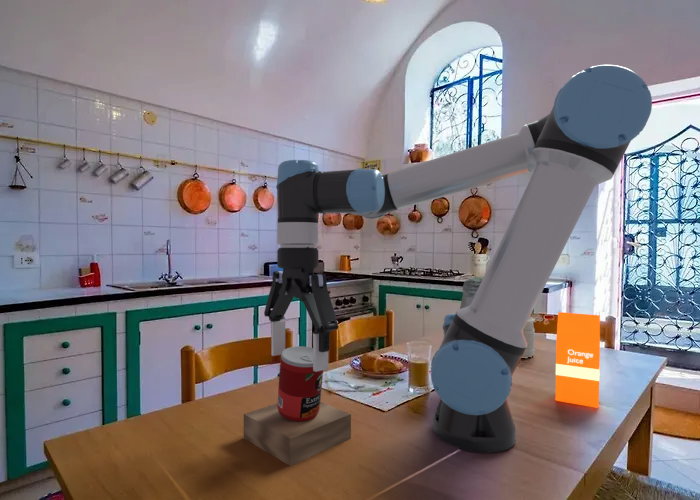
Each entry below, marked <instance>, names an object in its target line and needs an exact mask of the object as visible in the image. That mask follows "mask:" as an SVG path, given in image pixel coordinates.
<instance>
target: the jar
mask: <svg viewBox="0 0 700 500" xmlns="http://www.w3.org/2000/svg"><path fill="white" fill-rule="evenodd" d="M532 314H533V312H532V313H531V315H530V317H529V319H528V321H527V323H526V325H525V327H524V329H523V334H524V337H525V339H526V342H527V347H526V349H525V351H524V353H523V355H522V357H530V356H533V355H535V332H536V329H535V328H534V323H535V321H536V319H535V318H534V317H533V316H532ZM533 357H534V356H533Z"/></svg>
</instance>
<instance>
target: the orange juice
mask: <svg viewBox="0 0 700 500" xmlns="http://www.w3.org/2000/svg"><path fill="white" fill-rule="evenodd" d="M600 320H601V315H599V314H590V313H589V314H588V313H587V314H586V313H575V312H574V313H573V312H561V311H558V313H557V324H556V325H557V326H556V338H555V339H556V342H555V344H556V347H555V352H556V353H555V397H554V398H555V401H556V402H561V403H567V404H574V405H580V406H583V407H584V406H585V407H592V408H596V409H598V408H600V404H599V403H600V377H601V376H600V369H601V367H600V363H601V362H600V360H601V359H600V358H601V354H600V353H601V349H600V348H601V339H600V338H601V335H600V334H601V327H600V326H601V321H600Z"/></svg>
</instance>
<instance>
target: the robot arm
mask: <svg viewBox="0 0 700 500" xmlns="http://www.w3.org/2000/svg"><path fill="white" fill-rule="evenodd" d="M652 98H653V97H652V93H651V90H650V89H649V87H648V85H647V83H646V82H645V81H644V79H643V78H642V77H641V76H640V74H637V73H636V72H634V71H633V70H631V69H629V68H627V67H624V66H621V65H615V64H600V65H599V64H598V65H594V66H591V67H588V68H585V69H584V70H580V71H579V72H578V73H576V74H574V75H572V77H571V78H570V79H569V80H567V82H566V83H564V85H563V86H562V87H560V89H559V91H558V92H557V94H556V96H555V99H554V102H553V106H552V109H551V111H550V113H548V114H547V115H546V116H543V117H541V118H540V119H538V120H534V121H532V122H530V123H527V124H524V125H522V127H521V129H520V130H519V132H516V133H513V134H510V135H507V136H504V137H503V136H502V137H500V138H496V139H495V140H490V141H488V142H484V143H481V144H478V145H476V146H471V147H468V148H464V149H461V150H458V151H455V152H453V153H449V154H446V155H442V156H439V157H437V158H433V159H430V160H427V161H424V162H423V161H422V162H421V163H417V164H413V165H411V166H407V167H405V168H401V169H398V170H395V171H392V172H388V173H387V174H383V175H382V173H381V171H379V170H378V169H376V168H375V169H374V168H372V169H371V168H357V169H356V168H355V169H346V170H331V171H330V170H329V171H320V170H319V164H318V163H317V162H315V161H313V160H307V159H289V160H288V159H287V160H285V161H284V160H283V161H282V162H280V163H279V165H278V167H277V177H276V178H277V179H276V180H277V181H276V187H275V189H276V191H277V193H276V195H277V197H276V198H277V202H276V203H277V204H276V205H277V224H276V226H277V227H276V244H277V245H279V247H278V249H277V253H276V255H277V258H276V260H277V261H276V263H277V264H276V265H277V267H278V268H280V269H282V270H275V271H273V272H272V278H271V279H272V281H271V286H270V290H269V294H268V297H267V302H266V305H265V307H264V308H265V309H264V311H263V312H264V317H268V320H269V322H270V337H271V342H270V343H271V344H270V345H271V354H270V355H271V356H272V357H276V356H281V353H282V351H283V350H285V349H286V316H285V314H286V313H287V311H288V309H289V307H290V305H291V303H292V301H293V299H294V298H295V299H299V301H300V302H302V303H303V305H304V307H305V308H306V309H305V310H306V311H307V314H308V316H309V318H310V320H311V323H312V324H313V327H314V331H313V332H312V348H313V371H315V372H317V371H321V370H323V371H324V370H328V369H329V352H330V351H329V350H330V347H331V346H330V343H331V342H330V340H331V339H330V333H331V332H333V331H335V330H338V329H339V323H338V319H337V317H336V314H335V310H334V306H333V303H332V300H331V296H330V292H329V289H328V287H327V286H328V284H327V282H328V281H327V276H326V274H323V273H321V274H319V273H317V274H315V272H314V271H315V270H314V269H316V268H318V267H319V249H318V247H316V246H315V245H318V244H319V214H325V215H326V214H349V215H354V216H355V215H356V216H361V217H364V218H366V219H371V220H372V219H377V218H378V219H379V218H381V217H384V216H386V214H389V213H392V212H395V211H397V210H398V211H399V210H402V209H404V208H409V207H411V206H414V205H418V204H423V203H427V202H430V201H433V200H437V199H440V198H443V197H447V196H452V195H456V194H458V193H462V192H466V191H469V190H474V189H477V188H480V187H483V186H487V185H491V184H495V183H498V182H501V181H506V180H509V179H513V178H516V177H520V176H523V175H528V174H530V175H531V177H530V179H529V181H528V183H527V186H526V188H525V190H524V192H523V194H522V196H521V198H520V200H519V202H518V205H517V206H516V209H515V211H514V213H513V215H512V217H511V218H510V221H509V224H508V225H507V227H506V230H505V232H504V234H503V236H502V238H501V240H500V241H499V244H498V247H497V248H496V250H495V252H494V255H493V256H492V259H491V261H490V263H489V265H488V268H487V269H486V272H485V274H484V275H483V277H484V278H483V280H482V282H481V284H480V286H479V288H478V290H477V292H476V294H475V297H474V299H473V301H472V303H471V305H469V306H468V307H465V308H462V309H460V308H459V309H457V311H456V312H455V313H448V314H446V315H445V316H444V318H443V324H442V330H443V339H442V342H441V344H440V346H439V347H438V350H436V352H435V353H434V355H433V357H432V359H431V364H430V366H431V367H430V379H431V384H432V386H433V390H435V393H436V394H437V396H438V397H439V402H438V405H437V407H436V410H435V413H434V417H433V424H432V425H433V433H434V434H435V436H436V437H437V438H438V439H439V440H441V441H443V442H445V443H447V444H449V445H450V446H453V447H457V448H459V449H460V450H463V451H468V452H475V453H496V452H497V453H498V452H503V451H506V450H508V449H511V448H512V447H513V446H514V445H515V444H516V441H517V440H516V439H517V430H516V425H515V423H514V422H515V421H514V418H513V415H512V412H511V408H510V405H509V402H508V400H507V398H508V397H509V395H510V393H511V390H512V389H511V387H512V385H513V376H514V374H515V370H516V369H517V367H518V365H519V363H520V361H521V357H522V355H523V353H524V351H525V349H526V347H527V342H526V339H525V337H524V334H523V329H524V327H525V325H526V323H527V321H528V319H529V317H530V315H531V316H532V314H533V310H534V309H535V308H536V307H535V306H536V305H537V303H538V301H539V298H540V297H541V295H542V293H543V291H544V289H545V287H546V285H547V283H548V281H549V279H550V276H551V275H552V273H553V271H554V269H555V267H556V265H557V263H558V261H559V258H560V257H561V255H562V253H563V251H564V249H565V247H566V245H567V243H568V241H569V239H570V237H571V235H572V233H573V231H574V229H575V227H576V225H577V222H578V221H579V219H580V217H581V216H582V213H583V210H584V209H585V207H586V205H587V203H588V201H589V199H590V197H591V196H592V193H593V191H594V189H595V187H596V186H597V185H600V184H602V183H605V182H608V181H610V180H612V178H613V177H614V175H615V172H616V171H617V170H618V169H617V168H618V167H619V165H620V164H621V161H622V159H623V158H624V155H625V153H626V151H628V150H627V149H628V147H629V145H630V144H631V142H632V141H633V140H634V139H635V138H637V136H639V135H640V134H641V132H642V131H643V130H644V128H645V127H646V125H647V123H648V121H649V119H650V116H651V114H652V108H653V99H652ZM531 313H532V314H531Z"/></svg>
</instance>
